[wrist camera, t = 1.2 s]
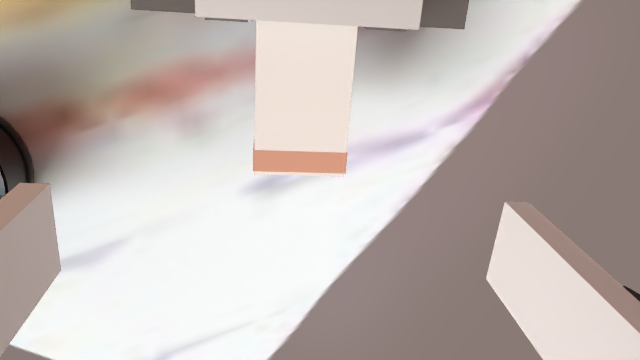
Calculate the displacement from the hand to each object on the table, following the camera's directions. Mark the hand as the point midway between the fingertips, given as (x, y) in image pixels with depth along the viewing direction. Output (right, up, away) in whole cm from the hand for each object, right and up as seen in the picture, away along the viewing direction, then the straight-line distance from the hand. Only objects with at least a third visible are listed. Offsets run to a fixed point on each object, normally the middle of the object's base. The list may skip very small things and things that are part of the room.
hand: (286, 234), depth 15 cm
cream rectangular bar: (0, +10, +12) cm, 16 cm away
